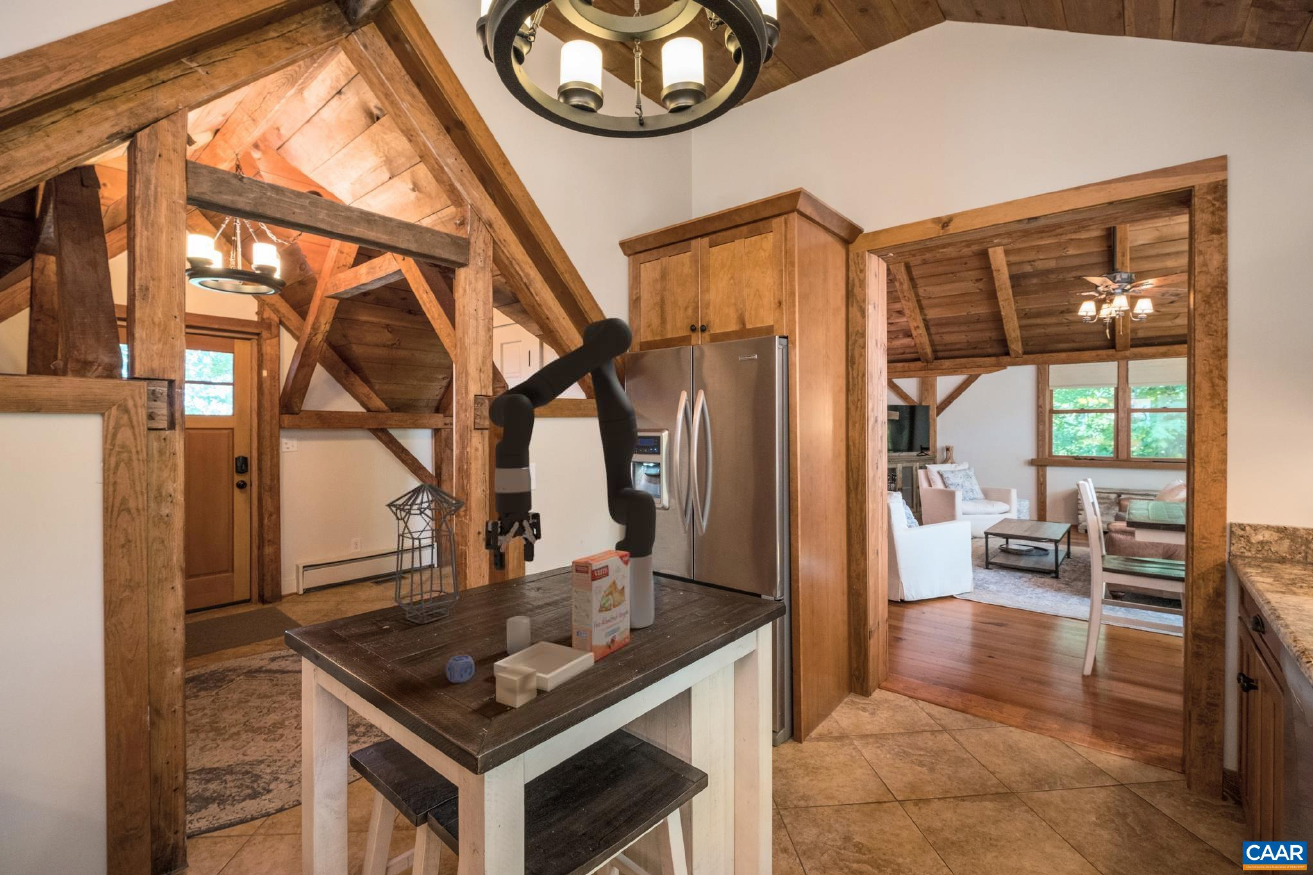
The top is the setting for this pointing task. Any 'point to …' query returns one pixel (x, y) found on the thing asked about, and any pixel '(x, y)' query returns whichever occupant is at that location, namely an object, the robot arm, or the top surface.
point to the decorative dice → (460, 668)
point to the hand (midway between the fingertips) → (514, 565)
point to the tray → (549, 663)
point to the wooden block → (516, 685)
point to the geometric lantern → (433, 491)
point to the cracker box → (601, 602)
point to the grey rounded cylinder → (518, 634)
